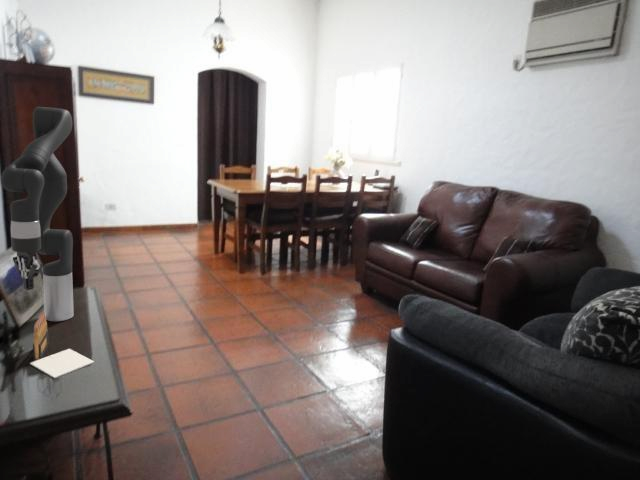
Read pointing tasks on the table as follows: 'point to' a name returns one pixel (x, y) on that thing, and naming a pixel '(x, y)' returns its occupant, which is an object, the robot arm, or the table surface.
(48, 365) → the mat
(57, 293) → the robot arm
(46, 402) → the table surface
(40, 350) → the ammunition clip
